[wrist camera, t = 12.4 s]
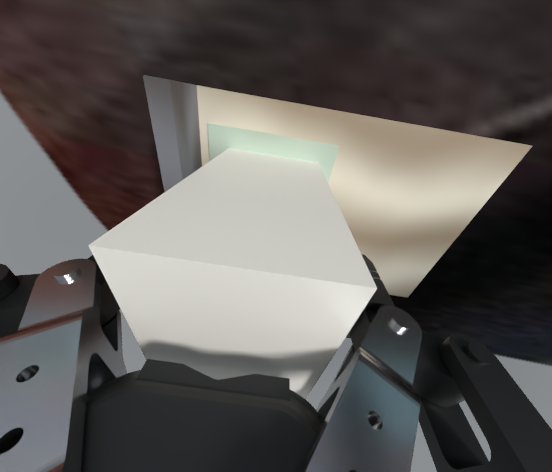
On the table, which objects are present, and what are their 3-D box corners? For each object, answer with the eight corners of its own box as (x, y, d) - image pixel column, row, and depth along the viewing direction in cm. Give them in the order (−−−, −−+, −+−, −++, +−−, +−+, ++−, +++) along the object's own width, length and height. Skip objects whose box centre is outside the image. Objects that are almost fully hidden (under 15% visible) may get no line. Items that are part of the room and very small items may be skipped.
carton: (318, 162, 11) (377, 288, 3) (294, 257, 15) (297, 411, 7) (225, 147, 11) (76, 243, 3) (226, 246, 15) (158, 393, 7)
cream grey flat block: (187, 84, 11) (140, 74, 7) (505, 141, 11) (596, 157, 8) (202, 253, 17) (181, 288, 14) (399, 283, 18) (424, 324, 14)
